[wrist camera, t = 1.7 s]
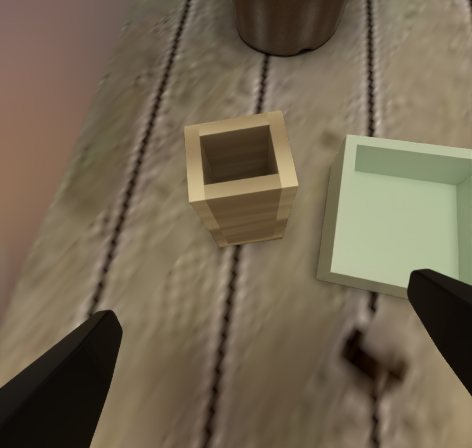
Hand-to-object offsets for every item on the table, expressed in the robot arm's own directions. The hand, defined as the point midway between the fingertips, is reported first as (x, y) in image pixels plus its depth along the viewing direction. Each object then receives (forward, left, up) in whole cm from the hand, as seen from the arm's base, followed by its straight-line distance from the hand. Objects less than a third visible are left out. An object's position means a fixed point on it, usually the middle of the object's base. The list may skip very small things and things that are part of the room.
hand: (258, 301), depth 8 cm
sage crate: (-5, -12, -13) cm, 18 cm away
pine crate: (+5, -5, -13) cm, 15 cm away
